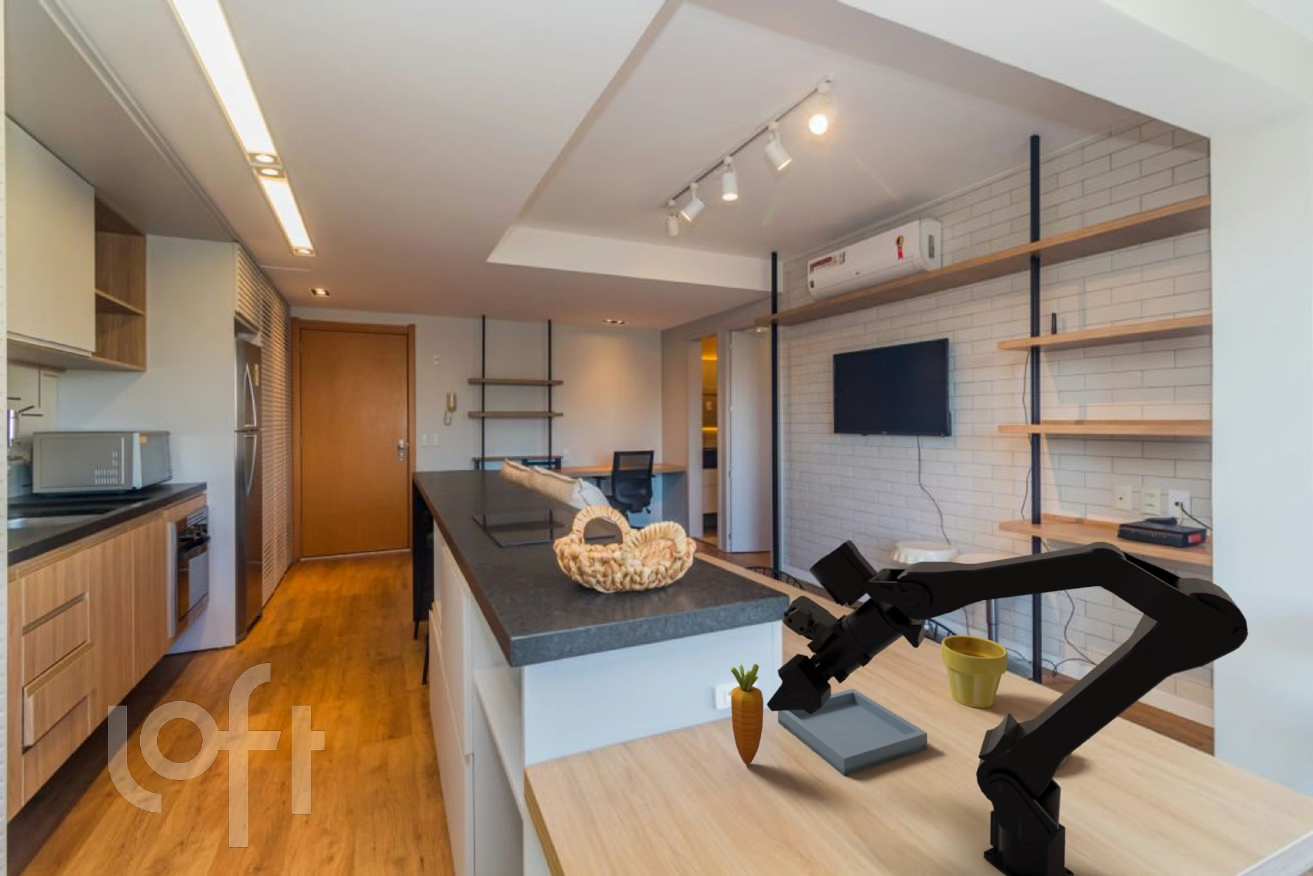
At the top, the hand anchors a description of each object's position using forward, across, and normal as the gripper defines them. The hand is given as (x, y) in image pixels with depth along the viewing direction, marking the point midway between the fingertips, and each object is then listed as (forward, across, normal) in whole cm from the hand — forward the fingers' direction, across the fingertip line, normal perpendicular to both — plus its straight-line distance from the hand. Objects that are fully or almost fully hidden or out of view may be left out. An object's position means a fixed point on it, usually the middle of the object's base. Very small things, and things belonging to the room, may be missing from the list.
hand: (783, 694), depth 84 cm
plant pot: (-4, -40, +22) cm, 46 cm away
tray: (+6, -16, +12) cm, 21 cm away
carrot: (+13, 0, +5) cm, 14 cm away
